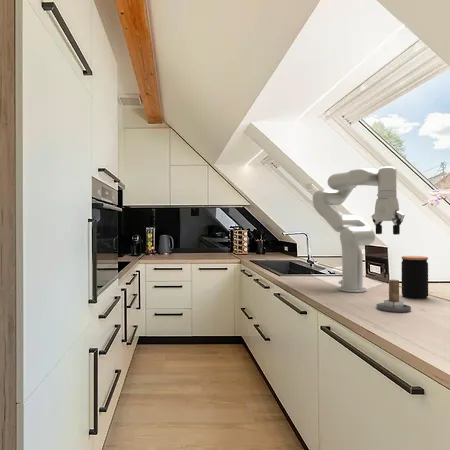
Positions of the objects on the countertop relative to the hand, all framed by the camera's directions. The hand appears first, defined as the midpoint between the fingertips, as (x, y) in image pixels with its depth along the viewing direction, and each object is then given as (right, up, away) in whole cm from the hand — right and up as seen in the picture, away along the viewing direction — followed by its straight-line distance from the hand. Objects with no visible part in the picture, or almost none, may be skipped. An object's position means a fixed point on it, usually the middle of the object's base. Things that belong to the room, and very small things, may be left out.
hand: (387, 234), depth 160 cm
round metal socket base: (-7, -28, -20) cm, 35 cm away
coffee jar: (+14, -29, +3) cm, 32 cm away
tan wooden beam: (-7, -27, -20) cm, 35 cm away
